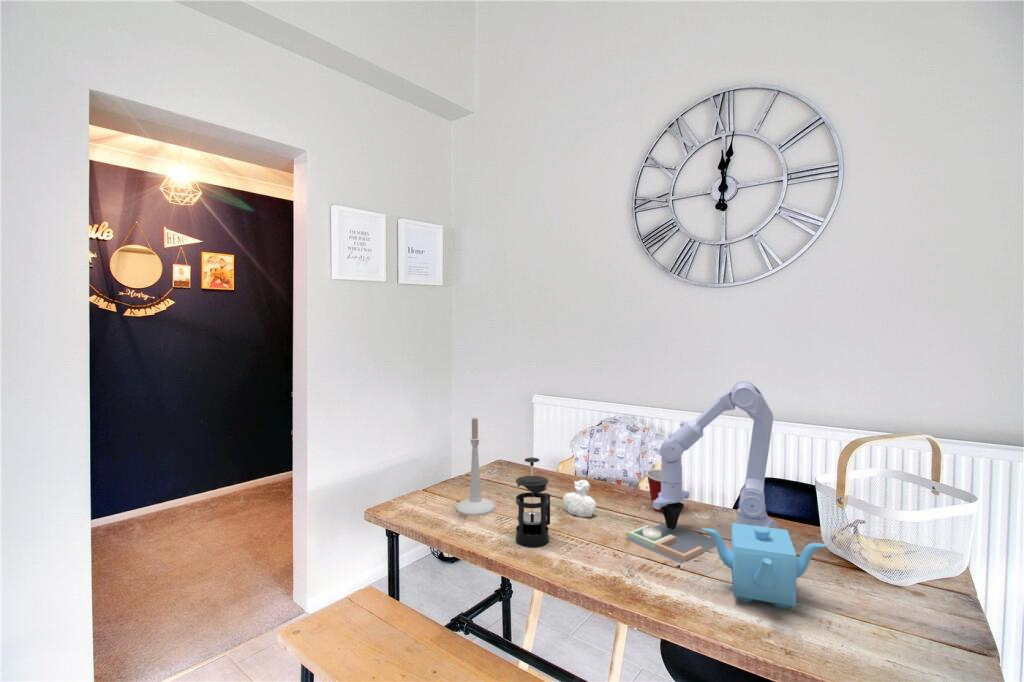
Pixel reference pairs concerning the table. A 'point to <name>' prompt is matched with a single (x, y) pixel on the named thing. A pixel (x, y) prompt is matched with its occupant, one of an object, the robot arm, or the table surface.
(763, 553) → the teakettle
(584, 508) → the white sheep figurine
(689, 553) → the pink u-shaped rail
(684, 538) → the mat
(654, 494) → the plastic cup
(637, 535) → the mint green c bracket
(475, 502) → the candlestick
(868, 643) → the table surface
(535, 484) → the french press
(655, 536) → the white dome
